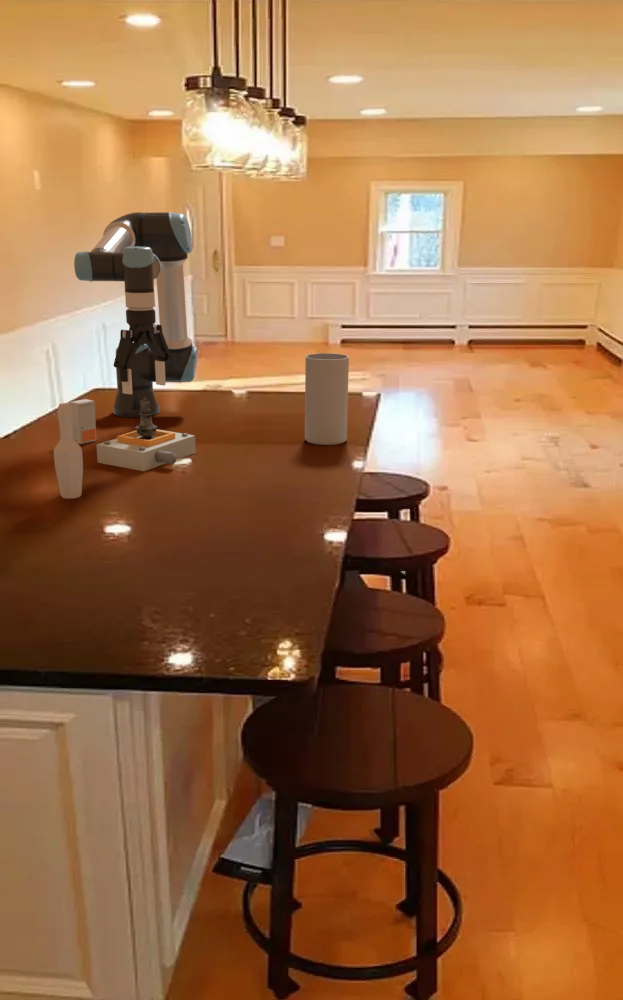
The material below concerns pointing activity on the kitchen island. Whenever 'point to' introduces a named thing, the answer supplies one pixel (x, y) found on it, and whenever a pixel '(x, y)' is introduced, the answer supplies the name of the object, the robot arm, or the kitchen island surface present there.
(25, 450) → the kitchen island surface
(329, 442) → the cylinder vase
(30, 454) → the kitchen island surface
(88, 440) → the skincare box
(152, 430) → the chess piece
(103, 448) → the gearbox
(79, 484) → the low poly bottle
